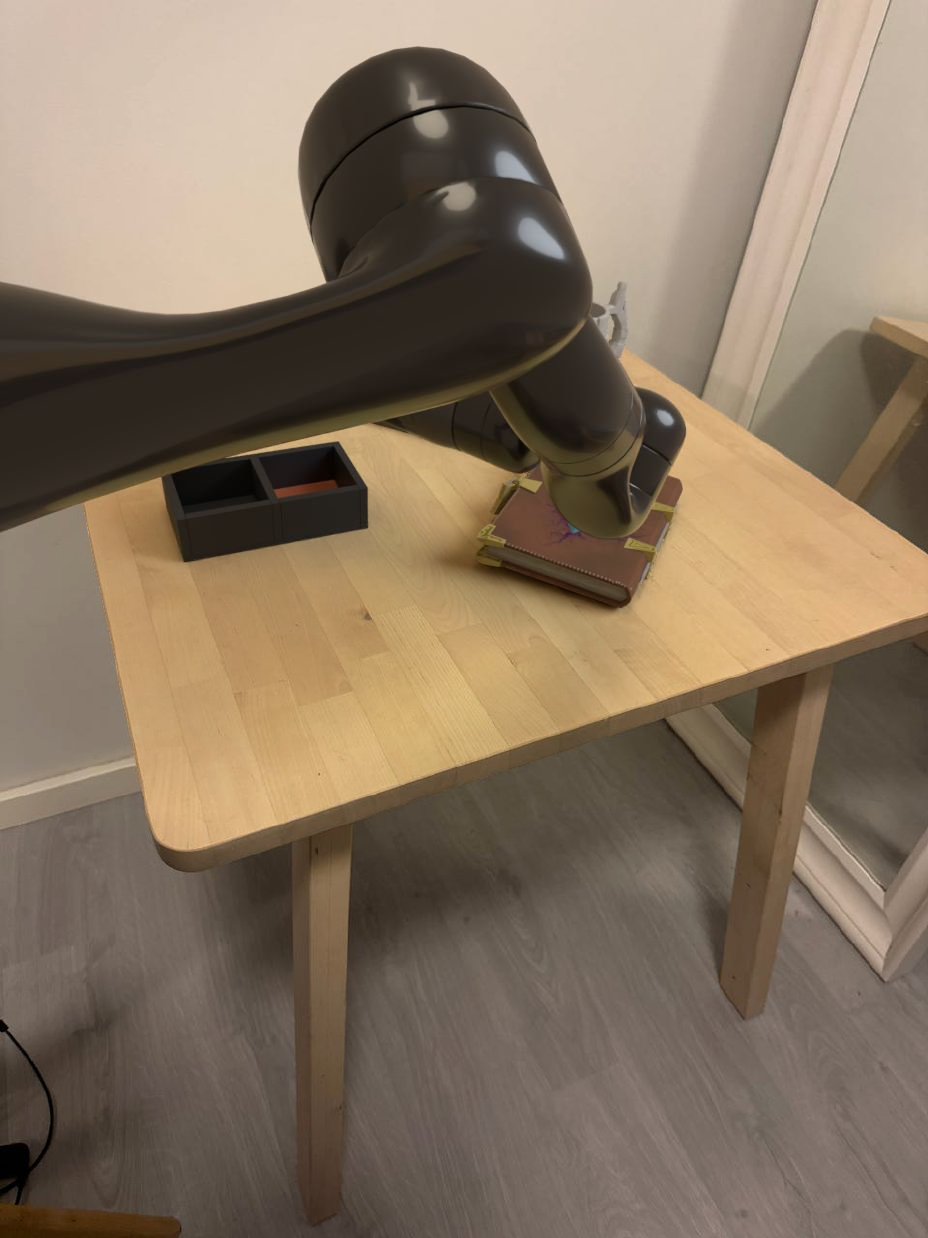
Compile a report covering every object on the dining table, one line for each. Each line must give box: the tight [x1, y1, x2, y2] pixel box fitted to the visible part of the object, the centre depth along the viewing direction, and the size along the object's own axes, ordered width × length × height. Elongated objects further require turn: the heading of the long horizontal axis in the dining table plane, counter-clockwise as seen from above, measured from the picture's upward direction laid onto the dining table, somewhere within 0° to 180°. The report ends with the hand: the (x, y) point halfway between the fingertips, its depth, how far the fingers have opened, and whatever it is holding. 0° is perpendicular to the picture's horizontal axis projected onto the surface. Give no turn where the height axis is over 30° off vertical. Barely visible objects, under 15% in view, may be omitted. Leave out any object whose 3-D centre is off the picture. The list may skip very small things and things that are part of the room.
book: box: [472, 464, 684, 609], centre depth 88 cm, size 16×25×5 cm, turn 157°
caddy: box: [160, 440, 369, 563], centre depth 85 cm, size 17×9×4 cm, turn 113°
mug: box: [590, 280, 630, 359], centre depth 109 cm, size 8×12×12 cm, turn 126°
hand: (274, 327), depth 77 cm, fingers closed
